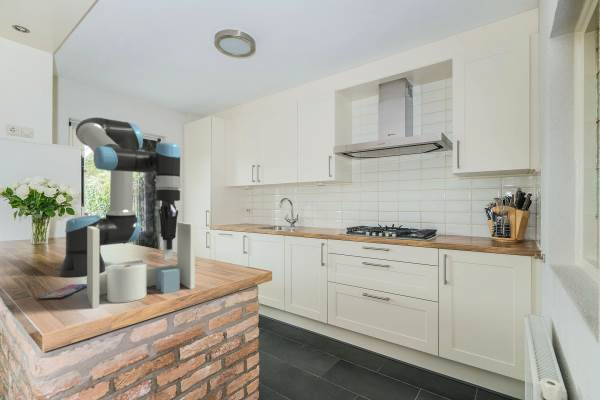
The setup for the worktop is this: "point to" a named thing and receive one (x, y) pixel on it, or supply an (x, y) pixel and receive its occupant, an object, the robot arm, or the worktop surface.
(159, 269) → the paddle block
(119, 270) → the toilet tissue
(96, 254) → the panel frame
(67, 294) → the smartphone
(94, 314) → the worktop surface
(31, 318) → the worktop surface
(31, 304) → the worktop surface
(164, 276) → the paddle block
